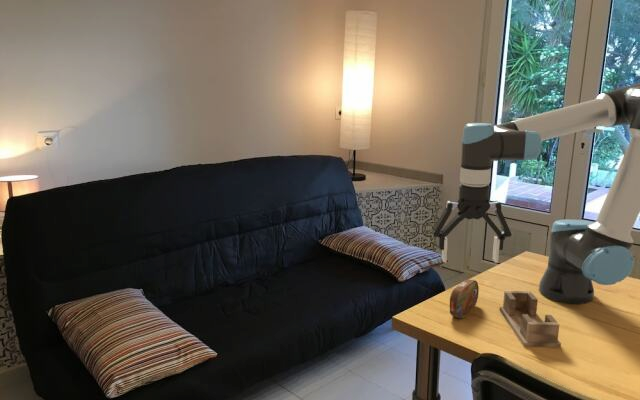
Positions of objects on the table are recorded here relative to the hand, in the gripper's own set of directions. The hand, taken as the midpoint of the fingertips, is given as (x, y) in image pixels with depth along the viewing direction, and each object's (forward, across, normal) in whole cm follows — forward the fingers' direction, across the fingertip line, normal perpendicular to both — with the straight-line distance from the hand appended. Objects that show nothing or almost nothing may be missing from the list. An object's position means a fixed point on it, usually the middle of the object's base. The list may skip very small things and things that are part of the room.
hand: (469, 261), depth 139 cm
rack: (+17, -15, +5) cm, 23 cm away
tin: (+17, 0, -4) cm, 17 cm away
